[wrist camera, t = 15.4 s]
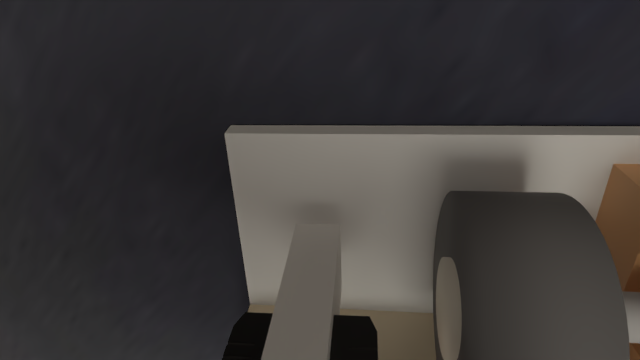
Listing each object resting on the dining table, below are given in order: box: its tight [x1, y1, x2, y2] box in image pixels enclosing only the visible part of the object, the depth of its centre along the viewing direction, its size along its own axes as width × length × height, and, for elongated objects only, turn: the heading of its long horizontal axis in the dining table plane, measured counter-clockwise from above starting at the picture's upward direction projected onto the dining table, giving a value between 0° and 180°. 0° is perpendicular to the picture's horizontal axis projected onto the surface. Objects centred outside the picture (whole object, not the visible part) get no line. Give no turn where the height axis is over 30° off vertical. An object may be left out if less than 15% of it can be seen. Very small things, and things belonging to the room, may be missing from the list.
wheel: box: [433, 191, 640, 360], centre depth 12 cm, size 8×7×7 cm
